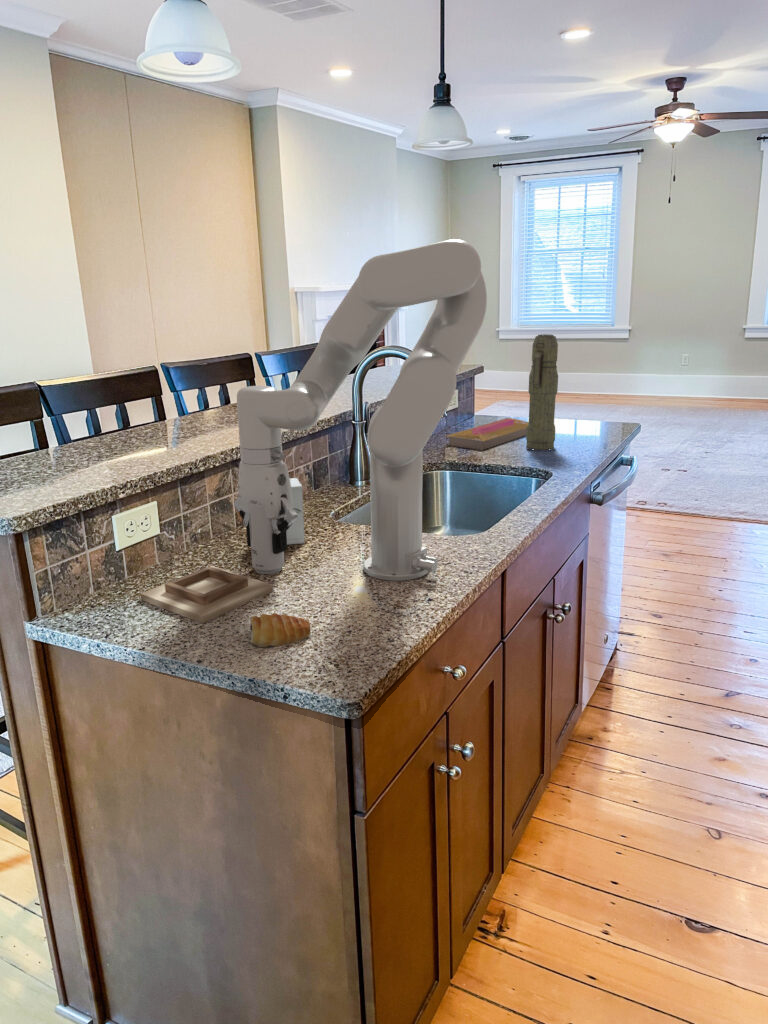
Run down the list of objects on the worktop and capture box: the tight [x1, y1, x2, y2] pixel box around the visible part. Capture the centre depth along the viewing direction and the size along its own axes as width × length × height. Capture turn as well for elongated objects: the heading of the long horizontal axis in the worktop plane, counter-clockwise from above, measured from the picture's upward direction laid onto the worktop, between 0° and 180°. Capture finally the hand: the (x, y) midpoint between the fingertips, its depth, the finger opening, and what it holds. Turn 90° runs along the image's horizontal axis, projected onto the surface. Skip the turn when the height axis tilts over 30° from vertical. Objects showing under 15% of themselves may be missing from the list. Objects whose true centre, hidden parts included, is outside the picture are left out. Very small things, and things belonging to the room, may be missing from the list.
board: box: [139, 565, 274, 624], centre depth 133 cm, size 16×16×3 cm
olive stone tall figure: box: [525, 333, 559, 451], centre depth 236 cm, size 9×12×35 cm
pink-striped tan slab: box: [445, 417, 529, 451], centre depth 254 cm, size 35×14×6 cm, turn 141°
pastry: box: [249, 612, 312, 648], centre depth 117 cm, size 9×7×4 cm
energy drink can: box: [248, 499, 285, 575], centre depth 142 cm, size 6×6×15 cm
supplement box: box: [285, 477, 306, 546], centre depth 159 cm, size 7×7×13 cm
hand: (267, 547), depth 143 cm, fingers closed on energy drink can, 6 cm apart
